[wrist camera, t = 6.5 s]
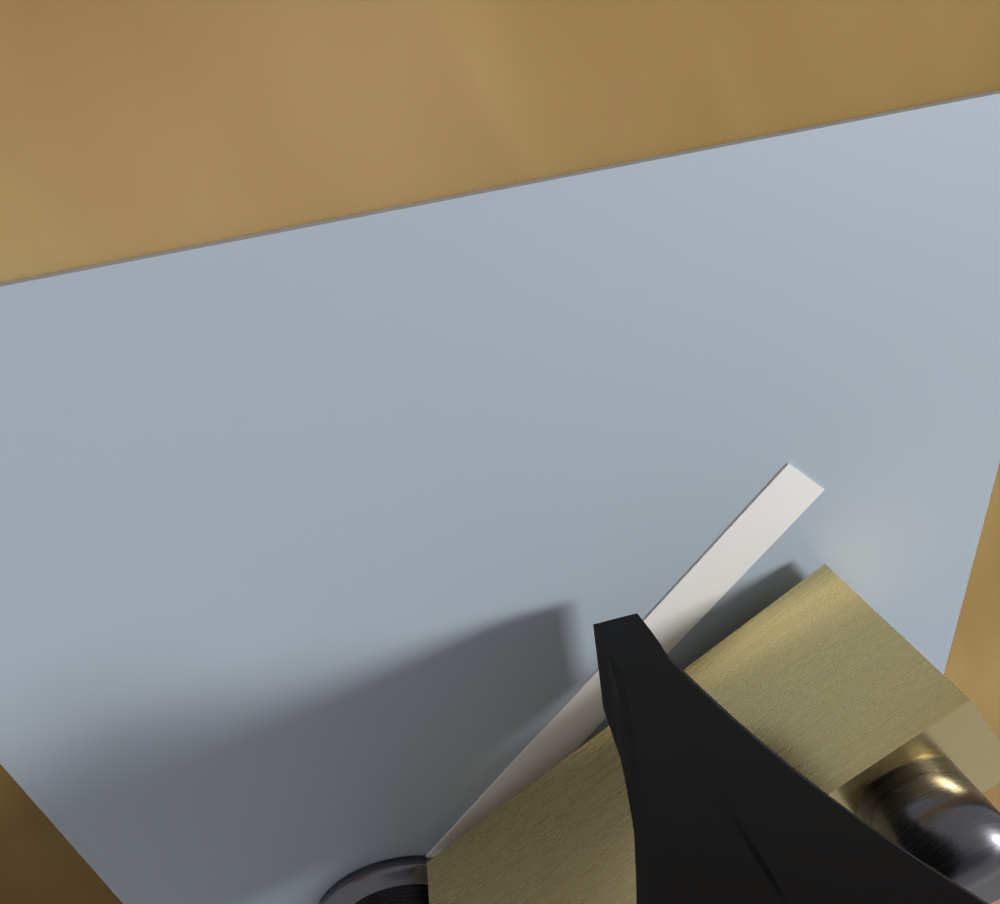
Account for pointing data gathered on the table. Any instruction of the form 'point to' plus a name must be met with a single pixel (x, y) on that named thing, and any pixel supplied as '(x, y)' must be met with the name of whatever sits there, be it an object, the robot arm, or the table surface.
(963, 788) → the swing bar
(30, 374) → the door panel
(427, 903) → the door knob
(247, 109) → the table surface
